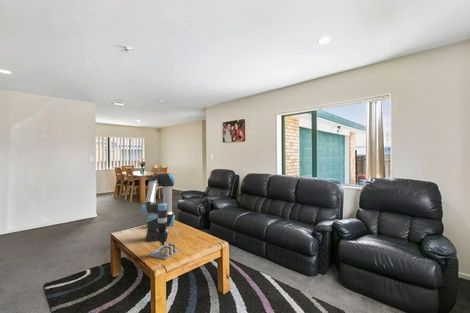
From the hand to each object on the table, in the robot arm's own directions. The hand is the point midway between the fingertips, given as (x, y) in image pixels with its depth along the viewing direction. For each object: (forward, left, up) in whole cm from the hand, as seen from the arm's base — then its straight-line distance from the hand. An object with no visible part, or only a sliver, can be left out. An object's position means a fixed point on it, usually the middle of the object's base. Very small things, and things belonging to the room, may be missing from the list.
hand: (162, 249), depth 194 cm
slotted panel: (+6, 0, -2) cm, 7 cm away
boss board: (+2, 0, -3) cm, 4 cm away
